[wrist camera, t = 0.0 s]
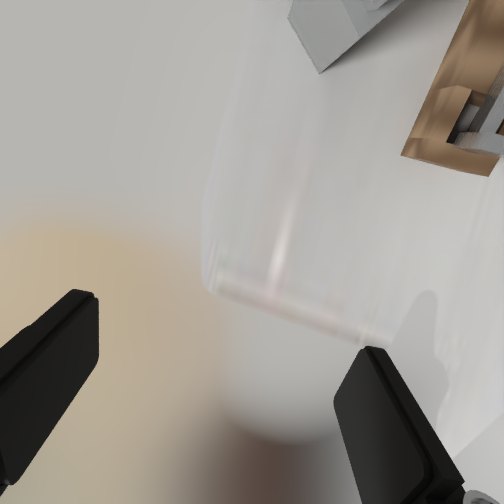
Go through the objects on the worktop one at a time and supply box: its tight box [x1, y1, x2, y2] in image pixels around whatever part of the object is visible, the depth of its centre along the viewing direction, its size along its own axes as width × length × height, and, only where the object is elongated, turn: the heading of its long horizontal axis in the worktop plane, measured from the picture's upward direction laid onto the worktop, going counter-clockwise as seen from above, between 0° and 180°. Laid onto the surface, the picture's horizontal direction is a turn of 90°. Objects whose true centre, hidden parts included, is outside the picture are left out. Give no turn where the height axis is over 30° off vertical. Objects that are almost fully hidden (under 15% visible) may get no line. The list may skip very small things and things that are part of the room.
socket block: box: [401, 0, 504, 177], centre depth 29 cm, size 20×9×7 cm, turn 166°
